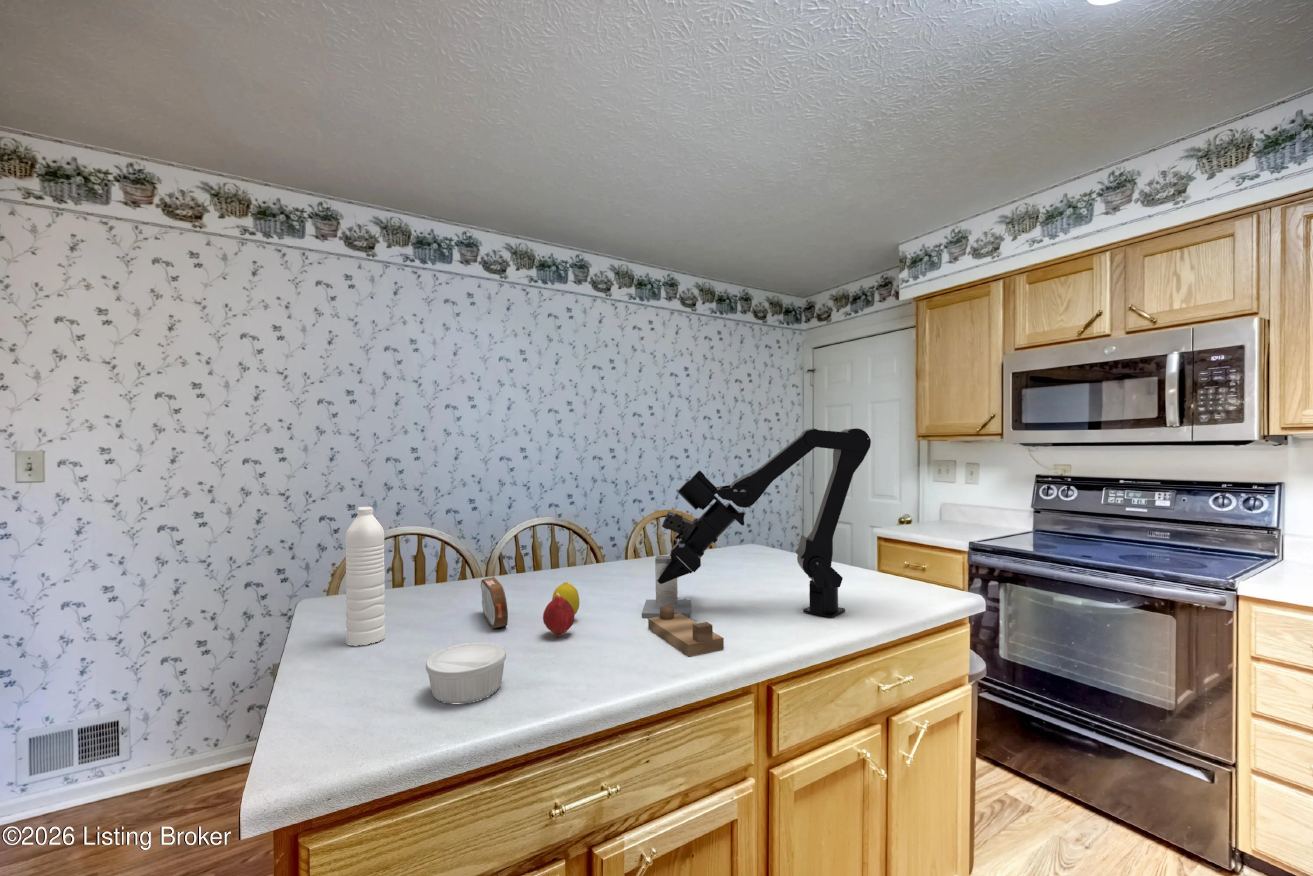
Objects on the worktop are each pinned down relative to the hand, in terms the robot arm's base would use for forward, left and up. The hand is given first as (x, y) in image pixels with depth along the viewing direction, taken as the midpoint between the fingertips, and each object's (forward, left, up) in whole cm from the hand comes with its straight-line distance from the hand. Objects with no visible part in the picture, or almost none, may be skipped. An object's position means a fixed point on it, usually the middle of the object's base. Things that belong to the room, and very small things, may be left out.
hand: (660, 577), depth 119 cm
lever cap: (-1, +1, -6) cm, 6 cm away
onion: (+24, -4, -7) cm, 25 cm away
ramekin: (+47, +5, -8) cm, 48 cm away
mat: (-1, +1, -7) cm, 7 cm away
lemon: (+18, -10, -7) cm, 22 cm away
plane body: (+9, +15, -7) cm, 19 cm away
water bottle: (+50, -28, -7) cm, 58 cm away
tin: (+28, -21, -8) cm, 36 cm away
